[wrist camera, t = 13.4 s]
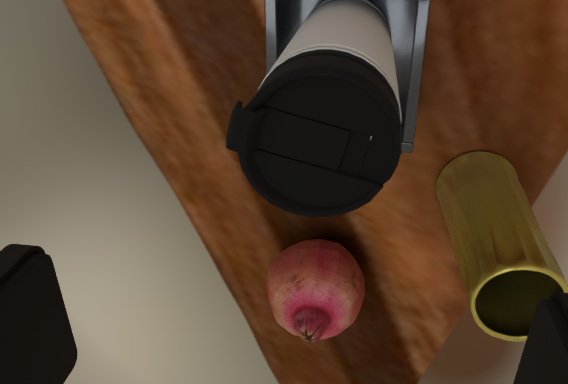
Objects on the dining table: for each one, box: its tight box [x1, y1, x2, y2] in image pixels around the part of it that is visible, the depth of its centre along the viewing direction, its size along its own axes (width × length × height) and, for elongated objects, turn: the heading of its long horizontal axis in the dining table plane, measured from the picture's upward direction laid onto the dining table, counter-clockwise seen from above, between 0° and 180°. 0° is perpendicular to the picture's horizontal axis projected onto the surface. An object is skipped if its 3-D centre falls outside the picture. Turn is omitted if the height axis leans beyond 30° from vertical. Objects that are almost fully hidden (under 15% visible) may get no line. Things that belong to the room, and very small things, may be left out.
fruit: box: [266, 239, 365, 343], centre depth 41 cm, size 8×8×10 cm
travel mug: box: [226, 0, 402, 217], centre depth 27 cm, size 6×7×20 cm
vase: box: [436, 151, 568, 341], centre depth 34 cm, size 6×6×14 cm
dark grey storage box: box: [265, 0, 430, 153], centre depth 34 cm, size 11×9×7 cm
